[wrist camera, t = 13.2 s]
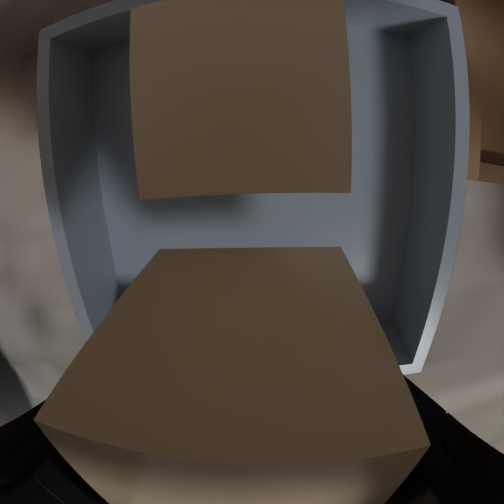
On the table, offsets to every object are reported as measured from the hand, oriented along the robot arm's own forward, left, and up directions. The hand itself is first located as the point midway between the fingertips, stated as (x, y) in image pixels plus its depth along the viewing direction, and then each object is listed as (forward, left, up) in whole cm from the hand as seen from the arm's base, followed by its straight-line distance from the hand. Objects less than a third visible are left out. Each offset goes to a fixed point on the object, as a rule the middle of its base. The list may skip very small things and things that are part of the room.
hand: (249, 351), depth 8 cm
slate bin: (+3, 0, -6) cm, 7 cm away
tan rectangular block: (+6, 0, -6) cm, 8 cm away
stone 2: (0, 0, -1) cm, 1 cm away
